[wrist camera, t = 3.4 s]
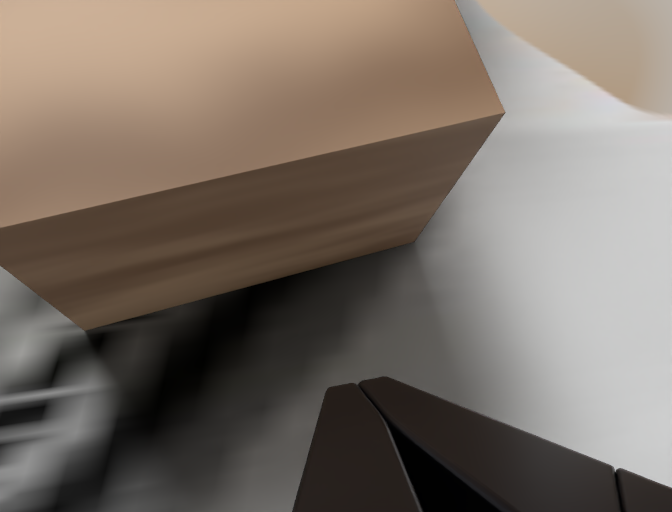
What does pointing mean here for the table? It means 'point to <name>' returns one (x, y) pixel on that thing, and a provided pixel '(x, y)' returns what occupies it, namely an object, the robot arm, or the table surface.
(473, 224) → the table surface
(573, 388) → the table surface
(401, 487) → the robot arm
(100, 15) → the walnut block
